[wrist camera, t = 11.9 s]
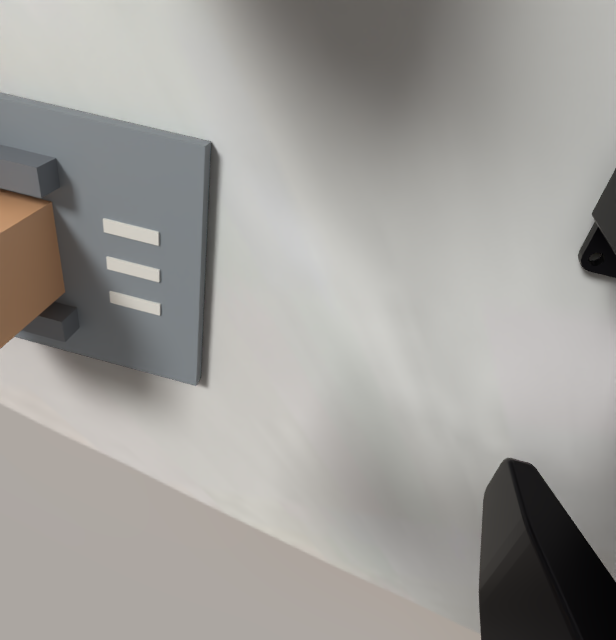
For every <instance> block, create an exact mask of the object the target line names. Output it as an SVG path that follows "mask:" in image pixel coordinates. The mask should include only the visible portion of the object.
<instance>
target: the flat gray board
mask: <svg viewBox="0 0 616 640" xmlns="http://www.w3.org/2000/svg"><path fill="white" fill-rule="evenodd" d="M210 155H211V141H207V140H202V139H198V138H194V137H190V136H185V135H181V134H177V133H172V132H168V131H164V130H159V129H155V128H151V127H146V126H142V125H138V124H134V123H129V122H125V121H121V120H116V119H112V118H108V117H103V116H99V115H95V114H91V113H86V112H82V111H78V110H73V109H69V108H65V107H60V106H56V105H52V104H47V103H43V102H39V101H35V100H30V99H26V98H22V97H17V96H13V95H9V94H4V93H0V189H3V190H7V191H11V192H15V193H19V194H23V195H27V196H31V197H35V198H39V199H43V200H47V201H51V202H52V206H53V213H54V220H55V226H56V233H57V240H58V247H59V253H60V260H61V267H62V273H63V280H64V287H65V293H64V294H62V295H61V296H60V297H59V298H58V299H57V300H56V301H54V302H53V303H52V304H51V305H50V306H49V307H48V308H46V309H45V310H44V311H43V312H42V313H41V314H39V315H38V316H37V317H36V318H35V319H34V320H33V321H31V322H30V323H29V324H28V325H27V326H26V327H25V328H23V329H22V330H21V331H20V332H19V333H18V334H17V335H15V336H14V337H17V338H21V339H25V340H28V341H32V342H36V343H40V344H43V345H47V346H51V347H54V348H58V349H62V350H65V351H69V352H73V353H76V354H80V355H84V356H87V357H91V358H95V359H99V360H102V361H106V362H110V363H113V364H117V365H121V366H124V367H128V368H132V369H135V370H139V371H143V372H147V373H150V374H154V375H158V376H161V377H165V378H169V379H172V380H176V381H180V382H183V383H187V384H191V385H195V386H196V385H197V384H198V382H199V380H200V378H201V360H202V337H203V314H204V292H205V269H206V246H207V224H208V201H209V178H210Z"/></svg>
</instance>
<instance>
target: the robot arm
mask: <svg viewBox="0 0 616 640" xmlns="http://www.w3.org/2000/svg"><path fill="white" fill-rule="evenodd" d="M592 215H593V218H594V220H595V223H594V225H593V227H592V228H591V230H590V232H589V234H588V236H587V238H586V240H585V241H584V243H583V245H582V247H581V249H580V251H579V254H578V258H579V261H580V264H581V266H582V267H583V268H584V269H585V270H587V271H590V272H594V273H598V274H602V275H606V276H610V277H615V278H616V169H615V171H614V173H613V175H612V177H611V178H610V180H609V182H608V184H607V186H606V188H605V190H604V192H603V193H602V195H601V197H600V199H599V201H598V203H597V205H596V207H595V208H594V210H593V213H592ZM594 253H602V255H601V257H600V258H599V259H597V260H589V257H590V256H591V255H592V254H594ZM479 609H480V626H481V640H616V582H615V581H614V579H613V578H612V576H611V575H610V573H609V572H608V571H607V569H606V568H605V566H604V565H603V563H602V562H601V561H600V559H599V558H598V556H597V555H596V553H595V552H594V551H593V549H592V548H591V546H590V545H589V543H588V542H587V541H586V539H585V538H584V536H583V535H582V533H581V532H580V531H579V529H578V528H577V526H576V525H575V523H574V522H573V521H572V519H571V518H570V516H569V515H568V513H567V512H566V511H565V509H564V508H563V506H562V505H561V503H560V502H559V501H558V499H557V498H556V496H555V495H554V493H553V492H552V491H551V489H550V488H549V486H548V485H547V483H546V482H545V481H544V479H543V478H542V476H541V475H540V473H539V472H538V471H537V469H536V468H535V467H534V466H533V465H532V464H530V463H528V462H524V461H520V460H516V459H513V458H506V459H505V460H503V462H502V463H501V464H500V466H499V468H498V469H497V471H496V473H495V474H494V476H493V478H492V479H491V481H490V483H489V484H488V486H487V488H486V490H485V494H484V500H483V517H482V536H481V555H480V573H479Z"/></svg>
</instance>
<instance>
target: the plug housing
mask: <svg viewBox="0 0 616 640" xmlns="http://www.w3.org/2000/svg"><path fill="white" fill-rule="evenodd" d="M64 293H65V287H64V280H63V273H62V267H61V260H60V253H59V247H58V240H57V233H56V226H55V220H54V213H53V206H52V202H51V201H47V200H43V199H39V198H35V197H31V196H27V195H23V194H19V193H15V192H11V191H7V190H3V189H0V348H2V347H3V346H4V345H5V344H6V343H7V342H9V341H10V340H11V339H12V338H13V337H14V336H15V335H17V334H18V333H19V332H20V331H21V330H22V329H23V328H25V327H26V326H27V325H28V324H29V323H30V322H31V321H33V320H34V319H35V318H36V317H37V316H38V315H39V314H41V313H42V312H43V311H44V310H45V309H46V308H48V307H49V306H50V305H51V304H52V303H53V302H54V301H56V300H57V299H58V298H59V297H60V296H61V295H62V294H64Z"/></svg>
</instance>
